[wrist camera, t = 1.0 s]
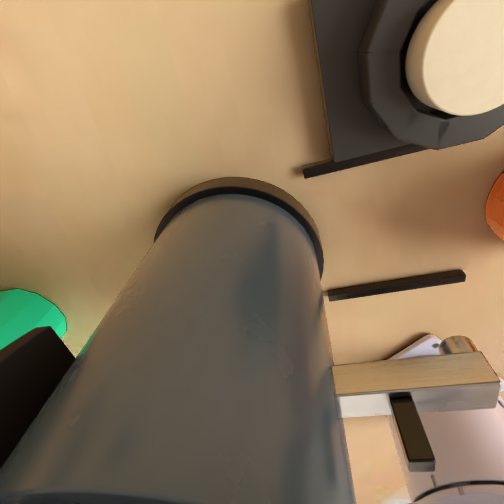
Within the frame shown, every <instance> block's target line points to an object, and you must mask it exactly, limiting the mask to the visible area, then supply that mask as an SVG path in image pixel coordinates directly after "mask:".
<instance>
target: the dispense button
mask: <svg viewBox="0 0 504 504" xmlns="http://www.w3.org/2000/svg"><path fill="white" fill-rule="evenodd" d="M405 70H406V78H407V82H408V85H409V87H410V89H411V91H412V93H413V94H414V95H415V97H416V98H417V99H418V100H419V101H421V102H422V103H424V104H425V105H427V106H430V107H432V108H435V109H438V110H440V111H443V112H446V113H449V114H452V115H457V116H471V115H477V114H481V113H484V112H487V111H490V110H492V109H495V108H497V107H499V106H501V105H502V104H504V0H438V1H437V2H436V3H435V4H434V5H433V6H432V7H431V8H430V9H429V10H428V11H427V12H426V14H425V15H424V16H423V18H422V19H421V21H420V22H419V24H418V25H417V27H416V29H415V31H414V33H413V35H412V38H411V40H410V43H409V46H408V50H407V55H406V64H405Z"/></svg>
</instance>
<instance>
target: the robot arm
mask: <svg viewBox="0 0 504 504" xmlns="http://www.w3.org/2000/svg"><path fill="white" fill-rule="evenodd" d="M441 342H442V340H441V339H439V338H438V337H436V336H434V335H426V336H424V337H423V338H421V339H419V340H418V341H416V342H415V343H413V344H411V345H410V346H408V347H407V348H405V349H404V350H402V351H400V352H399V353H397V354H396V355H394V356H392V357H391V358H389V359H388V360H392V359H402V358H412V357H422V356H432V355H441V354H440V352H439V345H440V343H441ZM74 360H75V357H74V356H73V355H72V353H71V352H70V351H69V349H68V348H67V347H66V345H65V344H64V343H63V342H62V340H61V339H60V338H59V336H58V335H57V334H56V332H55V331H54V330H53V328H52V327H51V326H45V327H36V328H34V329H33V330H31V331H29V332H27V333H26V334H24V335H22V336H21V337H19V338H18V339H16V340H15V341H13V342H12V343H10V344H9V345H7V346H6V347H4V348H3V349H1V350H0V469H1V467H2V466H3V464H4V463H5V461H6V460H7V458H8V457H9V456H10V454H11V453H12V451H13V450H14V448H15V447H16V445H17V444H18V442H19V441H20V439H21V438H22V436H23V435H24V434H25V432H26V431H27V429H28V428H29V426H30V425H31V423H32V422H33V420H34V419H35V417H36V416H37V414H38V413H39V412H40V410H41V409H42V407H43V406H44V404H45V403H46V401H47V400H48V398H49V397H50V395H51V394H52V392H53V391H54V390H55V388H56V387H57V385H58V384H59V382H60V381H61V379H62V378H63V376H64V375H65V373H66V372H67V371H68V369H69V368H70V366H71V365H72V363H73V362H74ZM498 378H499V379H500V381H501V388H500V392H502V391H504V380H503V379H501V378H500V377H498ZM500 392H499V393H500ZM419 416H420V419H421V421H422V424H423V427H424V429H425V432H426V435H427V437H428V440H429V443H430V445H431V448H432V451H433V453H434V456H435V459H436V464H435V471H434V472H410V471H409V470H408V468H407V464H406V461H405V458H404V454H403V451H402V448H401V444H400V441H399V437H398V434H397V431H396V427H395V424H394V421H393V417H392V415H387V418H388V422H389V426H390V429H391V433H392V436H393V440H394V443H395V447H396V450H397V454H398V457H399V461H400V464H401V468H402V471H403V475H404V478H405V482H406V485H407V489H408V492H409V495H410V499H411V503H409V504H504V401H503V399H502V397H501V396H500V394H499V396H498V401H497V405H496V407H495V408H493V409H477V410H461V411H445V412H429V413H419Z"/></svg>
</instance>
